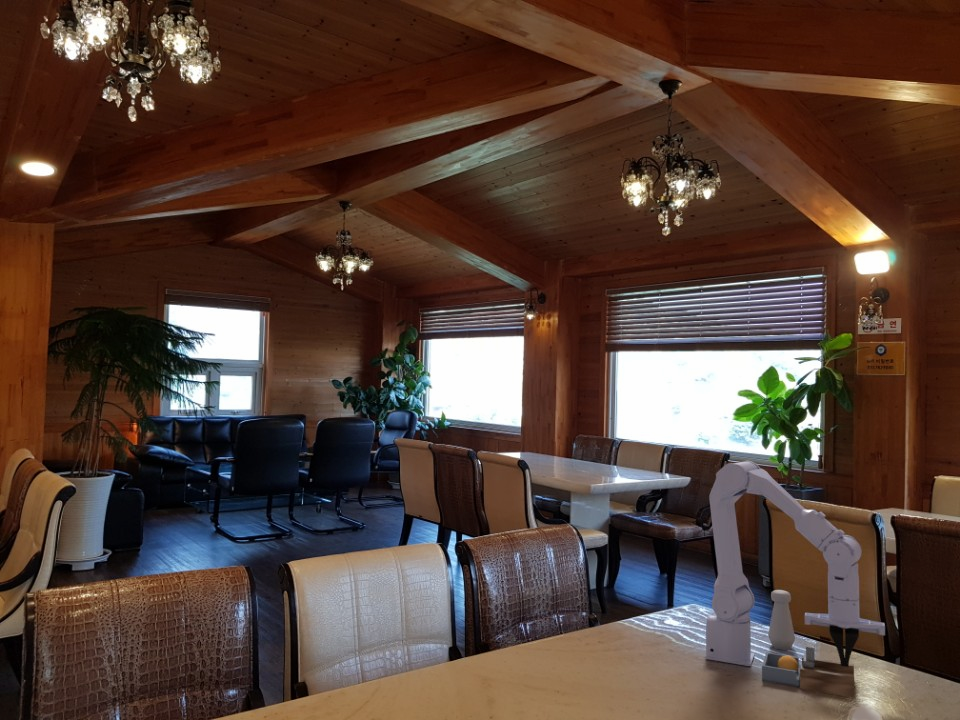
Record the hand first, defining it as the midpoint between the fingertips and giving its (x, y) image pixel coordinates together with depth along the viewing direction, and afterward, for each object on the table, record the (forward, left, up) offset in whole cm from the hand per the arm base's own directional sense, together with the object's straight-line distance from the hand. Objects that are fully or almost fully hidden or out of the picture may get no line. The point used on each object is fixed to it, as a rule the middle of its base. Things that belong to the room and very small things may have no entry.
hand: (844, 664), depth 146 cm
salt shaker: (-13, +19, -5) cm, 24 cm away
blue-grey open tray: (-12, 0, -4) cm, 13 cm away
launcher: (-3, 0, -4) cm, 6 cm away
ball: (-11, 0, -2) cm, 11 cm away
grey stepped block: (-7, 0, -2) cm, 7 cm away
